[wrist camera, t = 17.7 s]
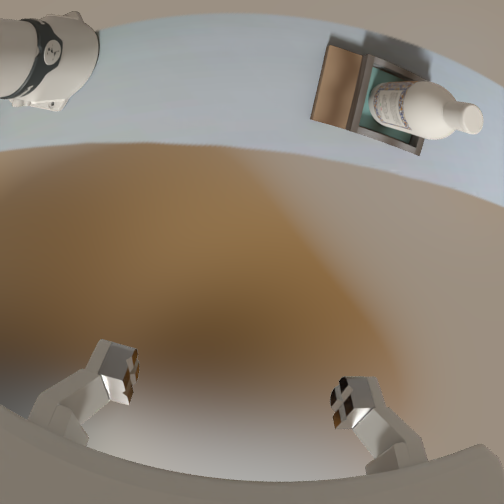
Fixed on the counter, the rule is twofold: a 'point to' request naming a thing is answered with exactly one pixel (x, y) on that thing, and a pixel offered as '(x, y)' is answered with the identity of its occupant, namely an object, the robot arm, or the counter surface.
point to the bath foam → (422, 109)
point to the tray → (359, 96)
